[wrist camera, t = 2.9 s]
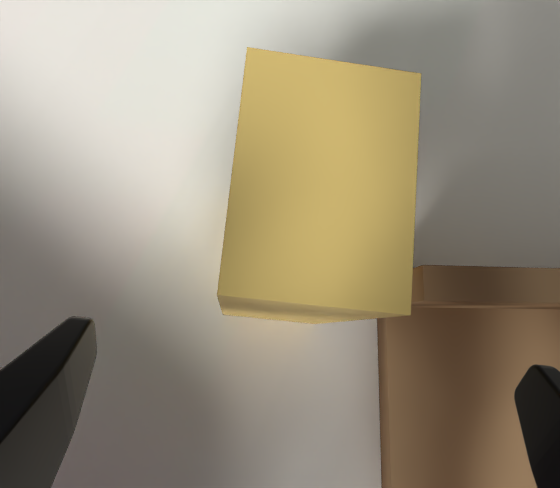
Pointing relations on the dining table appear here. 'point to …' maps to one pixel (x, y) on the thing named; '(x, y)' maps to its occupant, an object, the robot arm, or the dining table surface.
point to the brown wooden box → (463, 375)
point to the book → (321, 191)
